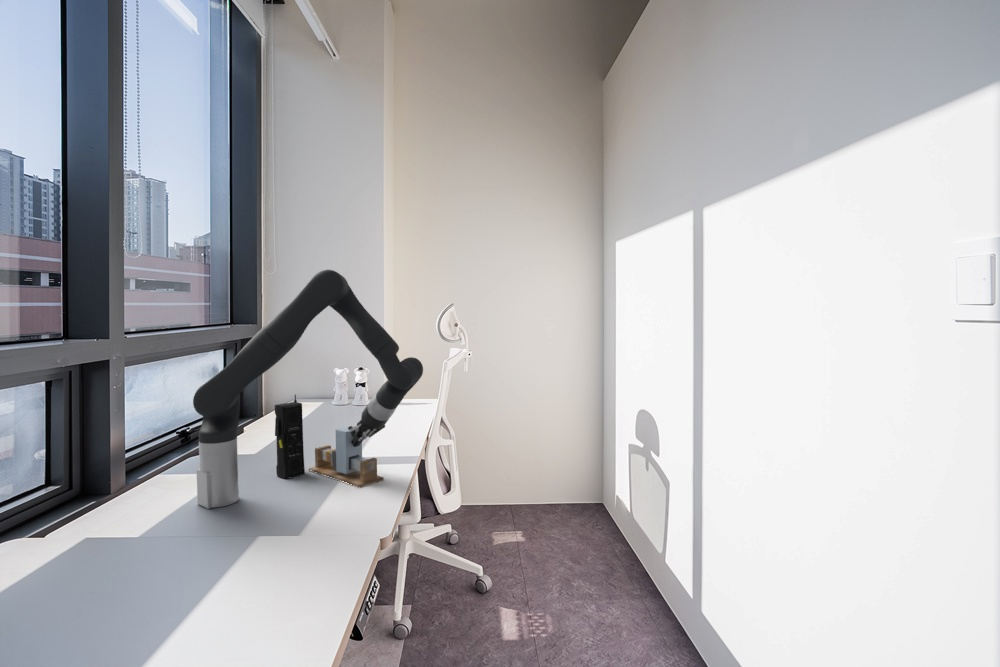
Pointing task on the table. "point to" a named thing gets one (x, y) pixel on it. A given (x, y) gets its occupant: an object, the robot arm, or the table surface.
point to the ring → (334, 460)
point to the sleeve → (345, 450)
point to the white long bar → (353, 461)
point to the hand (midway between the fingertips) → (354, 444)
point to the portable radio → (289, 439)
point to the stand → (353, 478)
